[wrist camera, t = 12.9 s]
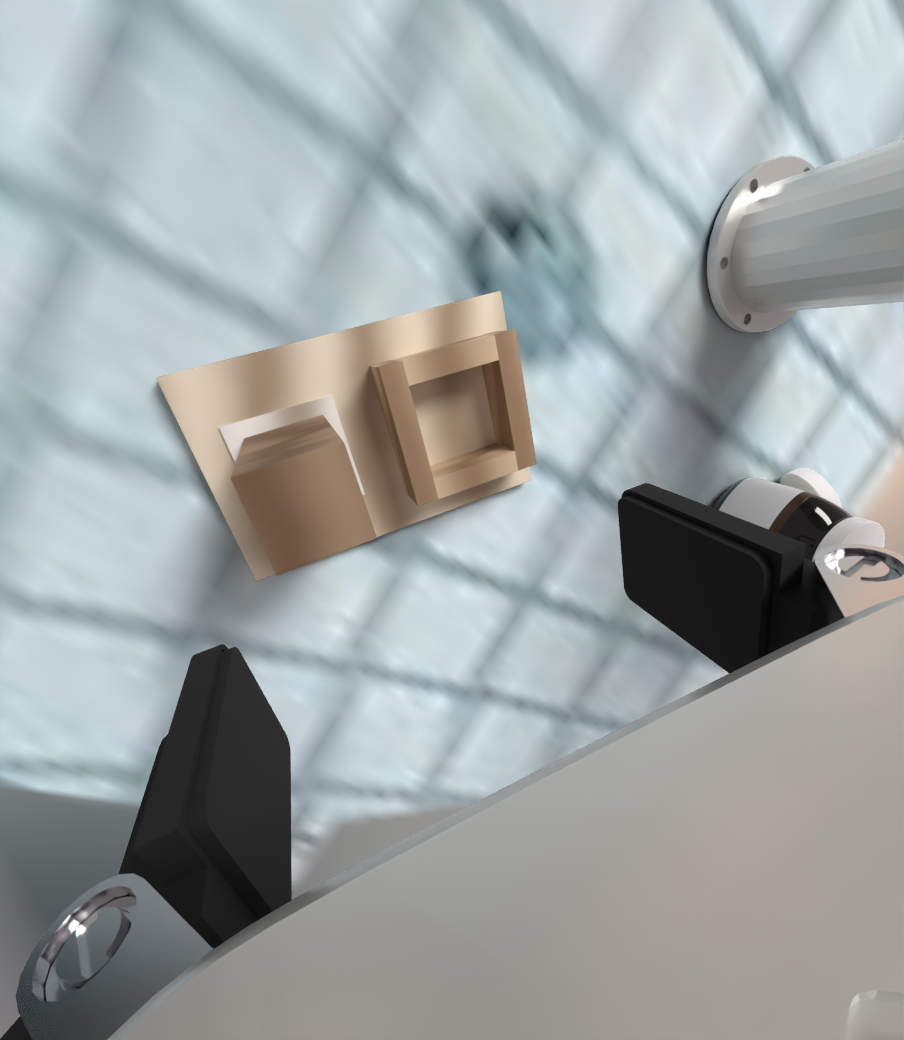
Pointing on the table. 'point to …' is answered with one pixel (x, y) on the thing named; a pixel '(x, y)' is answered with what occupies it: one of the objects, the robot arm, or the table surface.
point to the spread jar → (799, 511)
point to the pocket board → (374, 412)
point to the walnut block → (301, 493)
